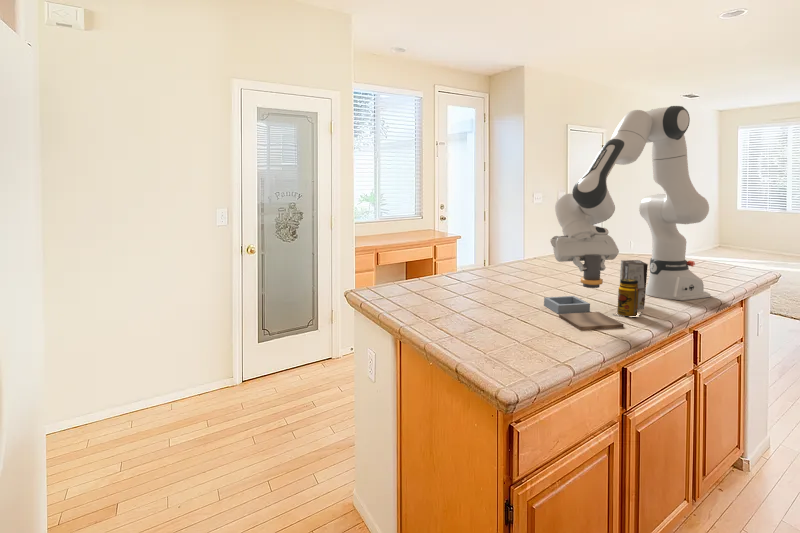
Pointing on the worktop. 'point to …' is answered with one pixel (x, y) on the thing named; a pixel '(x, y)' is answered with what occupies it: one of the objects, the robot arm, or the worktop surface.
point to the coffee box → (636, 276)
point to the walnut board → (590, 320)
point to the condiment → (628, 297)
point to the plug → (592, 271)
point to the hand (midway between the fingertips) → (593, 270)
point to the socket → (566, 304)
